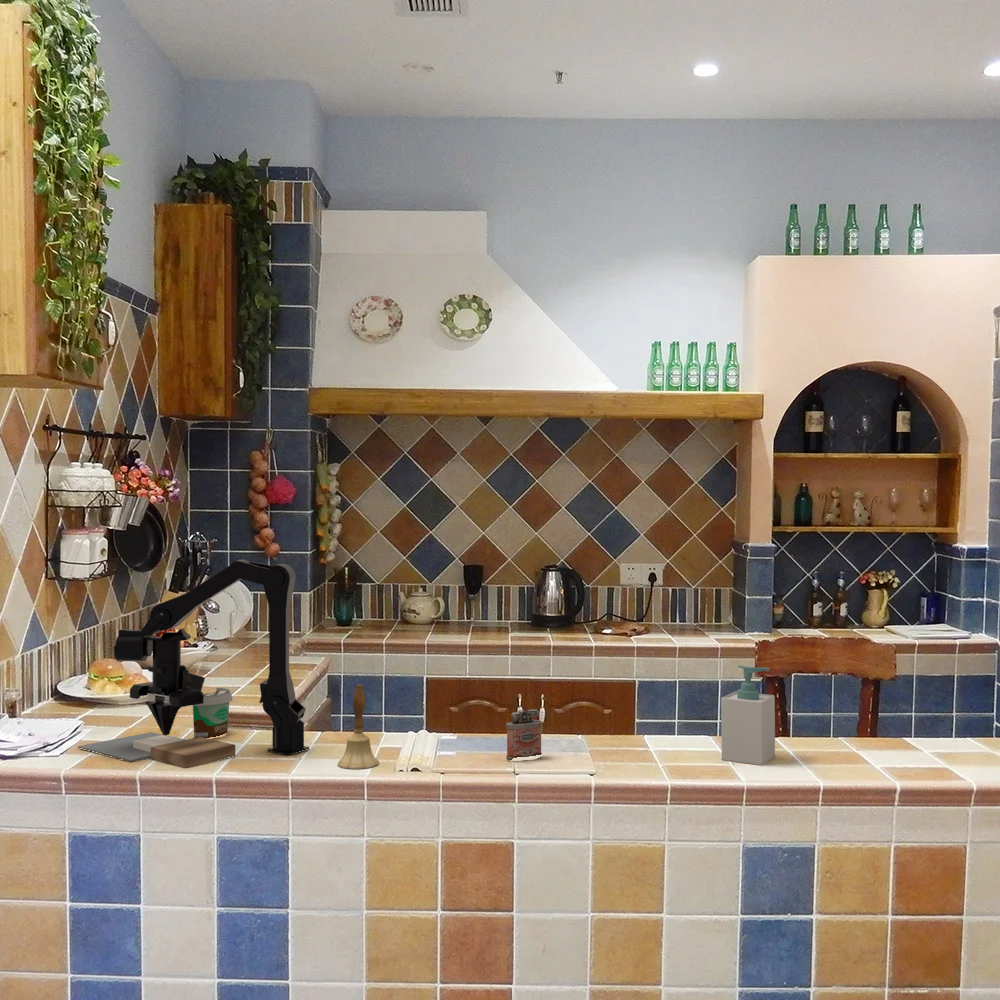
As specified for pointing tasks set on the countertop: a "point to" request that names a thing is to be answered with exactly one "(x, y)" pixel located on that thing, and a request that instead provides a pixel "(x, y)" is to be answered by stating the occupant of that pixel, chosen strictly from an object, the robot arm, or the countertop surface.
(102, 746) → the mat
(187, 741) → the wooden block
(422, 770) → the countertop surface
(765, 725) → the soap bottle
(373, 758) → the hand bell
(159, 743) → the tile
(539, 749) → the lighter
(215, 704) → the food container
